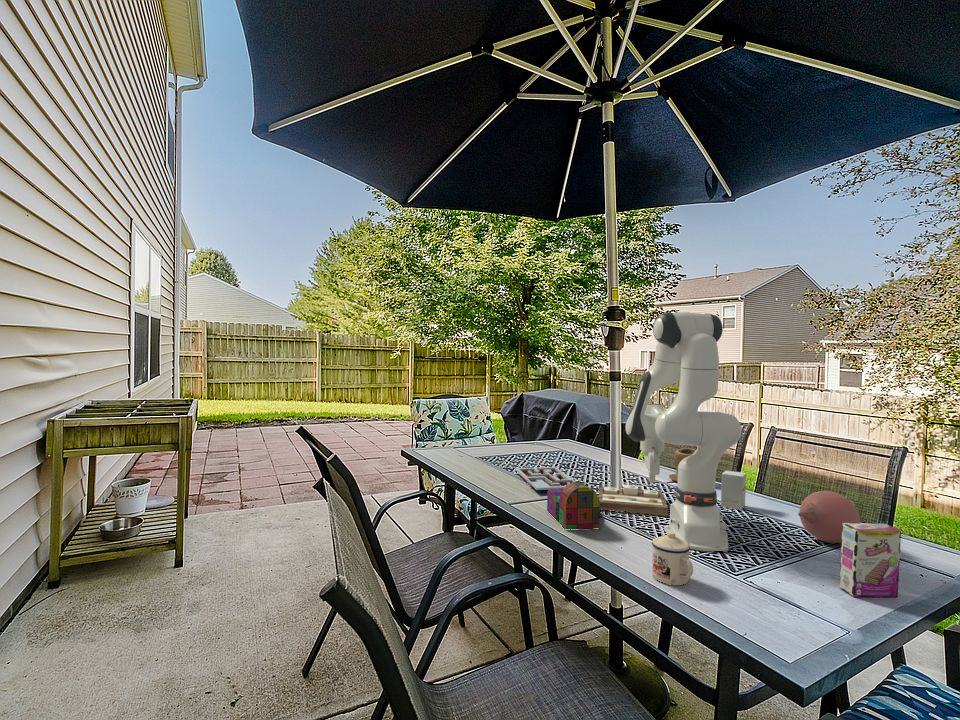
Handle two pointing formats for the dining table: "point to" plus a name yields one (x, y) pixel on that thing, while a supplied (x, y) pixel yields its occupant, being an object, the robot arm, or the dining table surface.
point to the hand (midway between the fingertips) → (651, 482)
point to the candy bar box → (870, 560)
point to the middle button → (630, 490)
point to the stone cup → (679, 456)
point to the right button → (650, 493)
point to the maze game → (544, 478)
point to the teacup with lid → (671, 560)
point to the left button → (610, 490)
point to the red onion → (827, 515)
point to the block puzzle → (575, 506)
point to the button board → (633, 502)
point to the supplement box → (733, 490)
